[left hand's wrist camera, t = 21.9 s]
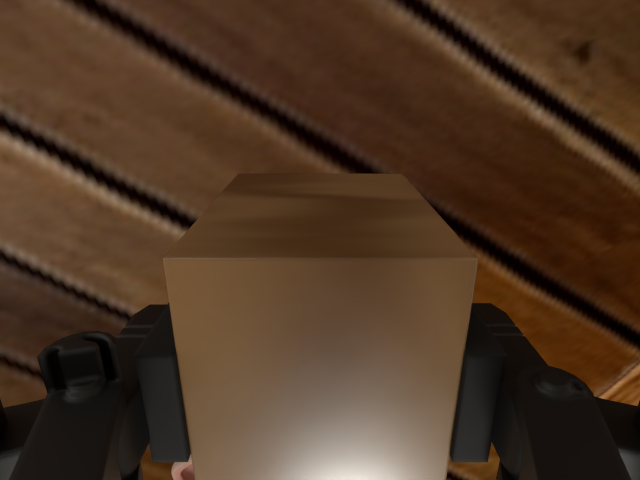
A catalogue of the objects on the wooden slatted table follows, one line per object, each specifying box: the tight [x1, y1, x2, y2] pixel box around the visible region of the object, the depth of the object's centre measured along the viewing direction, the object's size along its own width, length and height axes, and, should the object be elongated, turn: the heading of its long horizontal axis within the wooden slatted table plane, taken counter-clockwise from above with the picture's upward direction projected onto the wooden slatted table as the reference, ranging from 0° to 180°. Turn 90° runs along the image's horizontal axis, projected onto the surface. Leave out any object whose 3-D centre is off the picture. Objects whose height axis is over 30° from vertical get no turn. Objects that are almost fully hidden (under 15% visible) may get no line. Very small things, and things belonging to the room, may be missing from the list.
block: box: [163, 174, 478, 480], centre depth 12 cm, size 6×6×7 cm
